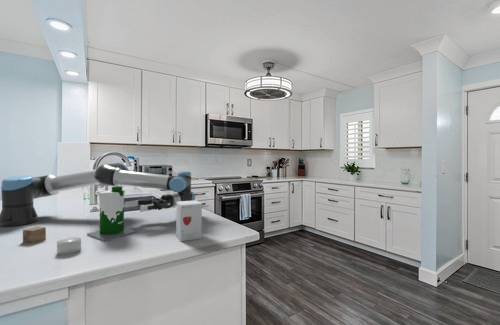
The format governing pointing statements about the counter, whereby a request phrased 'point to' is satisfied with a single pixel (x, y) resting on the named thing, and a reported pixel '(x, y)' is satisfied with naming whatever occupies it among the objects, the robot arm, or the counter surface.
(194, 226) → the supplement box
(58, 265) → the counter surface
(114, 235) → the slate board
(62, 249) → the white cylinder puck
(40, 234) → the walnut block
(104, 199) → the soya milk
